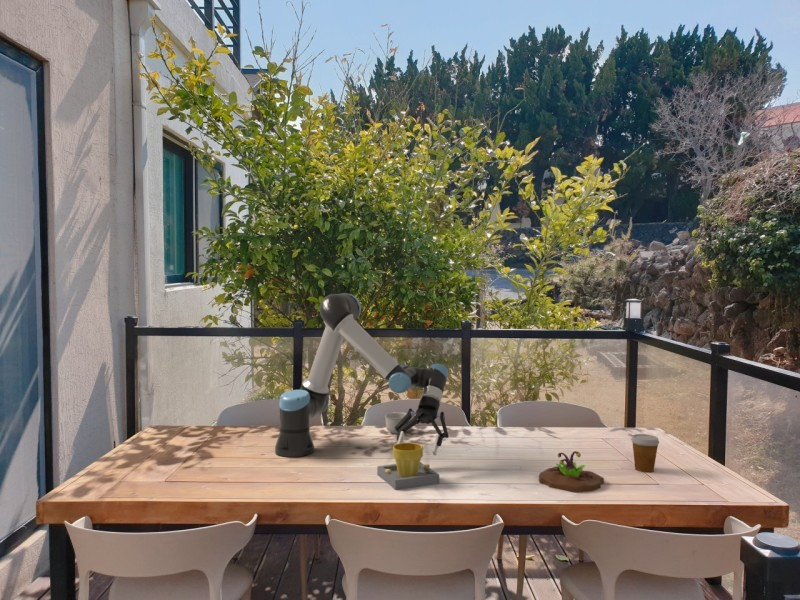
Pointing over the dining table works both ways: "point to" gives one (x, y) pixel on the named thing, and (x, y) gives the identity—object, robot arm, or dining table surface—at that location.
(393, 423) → the teacup
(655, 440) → the disposable coffee cup
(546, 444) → the dining table surface
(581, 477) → the plant
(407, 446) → the plant pot
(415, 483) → the base
